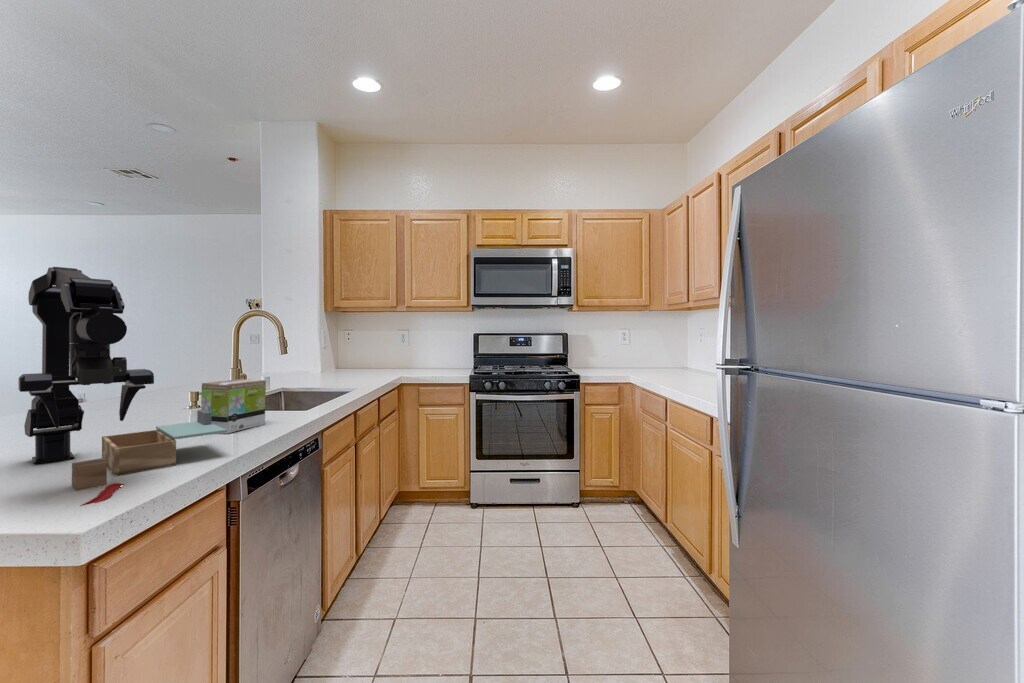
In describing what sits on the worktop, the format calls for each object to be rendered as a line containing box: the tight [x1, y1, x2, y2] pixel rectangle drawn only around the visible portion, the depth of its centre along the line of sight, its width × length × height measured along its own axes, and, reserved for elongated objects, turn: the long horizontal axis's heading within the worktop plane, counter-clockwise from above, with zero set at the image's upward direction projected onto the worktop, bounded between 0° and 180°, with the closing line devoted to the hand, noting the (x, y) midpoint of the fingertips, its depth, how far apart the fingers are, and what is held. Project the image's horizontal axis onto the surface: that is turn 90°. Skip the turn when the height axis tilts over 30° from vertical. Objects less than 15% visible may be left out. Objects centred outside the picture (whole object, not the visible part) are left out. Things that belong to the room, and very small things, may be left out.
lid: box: [155, 409, 227, 440], centre depth 110 cm, size 16×10×4 cm, turn 49°
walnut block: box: [71, 457, 108, 492], centre depth 88 cm, size 4×4×4 cm
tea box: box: [200, 378, 267, 435], centre depth 140 cm, size 15×10×15 cm
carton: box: [101, 429, 177, 476], centre depth 103 cm, size 16×10×6 cm, turn 49°
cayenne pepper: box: [79, 482, 125, 507], centre depth 83 cm, size 12×5×2 cm, turn 179°
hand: (90, 423), depth 88 cm, fingers open, 9 cm apart
